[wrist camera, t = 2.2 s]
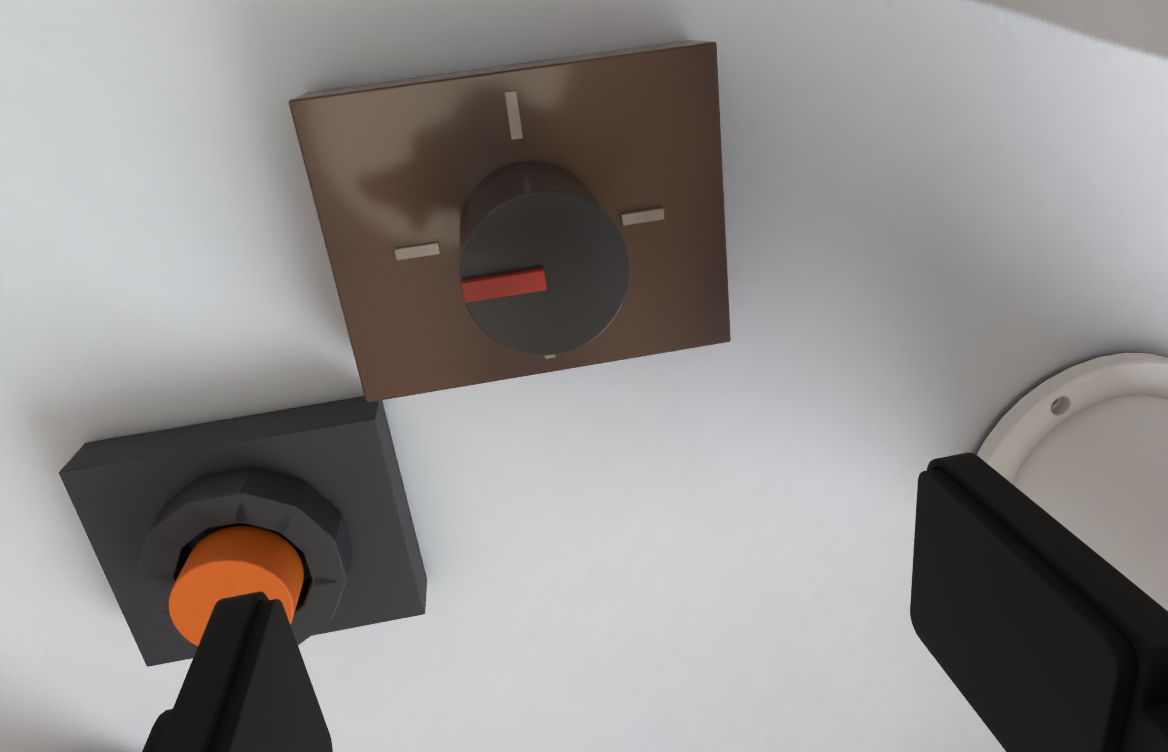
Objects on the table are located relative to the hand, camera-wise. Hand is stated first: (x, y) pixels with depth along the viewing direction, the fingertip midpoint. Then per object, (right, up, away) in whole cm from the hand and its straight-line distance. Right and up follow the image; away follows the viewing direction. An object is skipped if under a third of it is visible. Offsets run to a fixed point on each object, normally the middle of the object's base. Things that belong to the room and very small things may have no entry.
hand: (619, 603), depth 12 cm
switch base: (-13, -2, +21) cm, 25 cm away
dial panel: (-3, +9, +17) cm, 20 cm away
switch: (-13, -4, +17) cm, 22 cm away
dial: (-2, +8, +14) cm, 17 cm away
